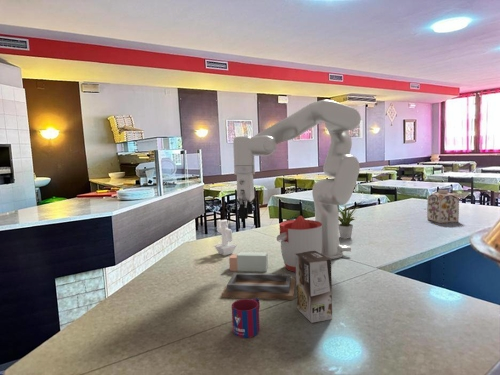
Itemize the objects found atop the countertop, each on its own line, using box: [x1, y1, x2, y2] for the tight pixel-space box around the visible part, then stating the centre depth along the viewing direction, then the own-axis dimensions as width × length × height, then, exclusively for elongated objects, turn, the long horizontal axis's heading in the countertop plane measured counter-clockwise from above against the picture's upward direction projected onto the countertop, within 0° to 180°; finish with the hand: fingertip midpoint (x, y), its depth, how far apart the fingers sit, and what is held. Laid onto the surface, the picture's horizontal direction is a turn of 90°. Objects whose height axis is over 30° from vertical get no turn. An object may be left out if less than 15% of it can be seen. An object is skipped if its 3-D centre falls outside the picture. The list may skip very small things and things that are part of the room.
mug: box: [231, 298, 261, 339], centre depth 85 cm, size 7×10×7 cm
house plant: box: [337, 205, 360, 239], centre depth 167 cm, size 14×14×16 cm
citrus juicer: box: [276, 215, 322, 273], centre depth 125 cm, size 16×17×20 cm
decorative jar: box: [426, 189, 460, 224], centre depth 193 cm, size 12×12×18 cm
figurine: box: [213, 219, 237, 256], centre depth 148 cm, size 7×9×15 cm
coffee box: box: [295, 251, 333, 324], centre depth 90 cm, size 9×6×16 cm
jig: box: [221, 272, 296, 301], centre depth 109 cm, size 22×14×3 cm, turn 80°
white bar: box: [228, 251, 269, 272], centre depth 127 cm, size 14×4×6 cm, turn 80°
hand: (245, 216), depth 125 cm, fingers open, 9 cm apart
